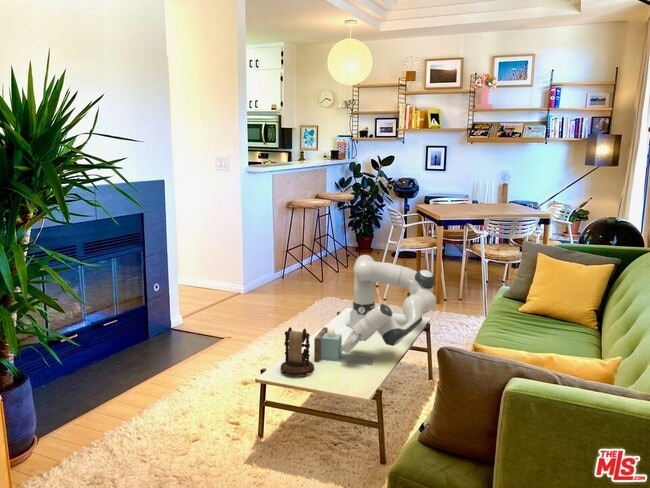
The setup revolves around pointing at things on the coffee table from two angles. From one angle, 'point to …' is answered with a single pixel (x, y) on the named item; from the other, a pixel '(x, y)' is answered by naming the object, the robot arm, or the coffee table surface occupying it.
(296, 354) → the scroll
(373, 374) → the coffee table surface
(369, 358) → the grey flat rectangular plate
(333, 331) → the dowel block
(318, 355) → the backstop wall
